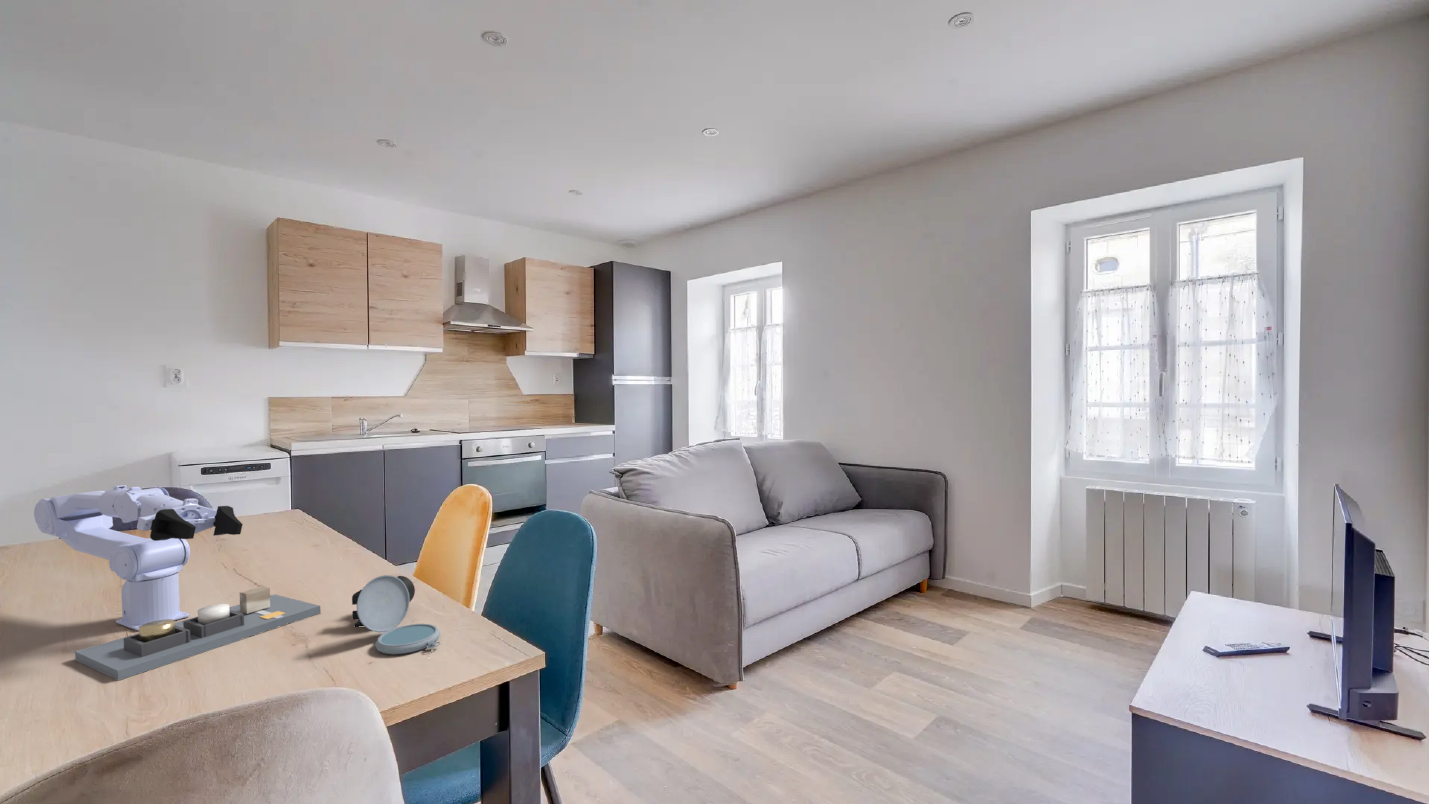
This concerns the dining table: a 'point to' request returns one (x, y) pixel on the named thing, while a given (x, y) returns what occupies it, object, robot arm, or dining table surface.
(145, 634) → the brass button
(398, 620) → the pocket watch
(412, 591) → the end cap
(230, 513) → the robot arm
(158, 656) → the panel
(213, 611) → the white button
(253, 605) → the frosted cream block
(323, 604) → the dining table surface
